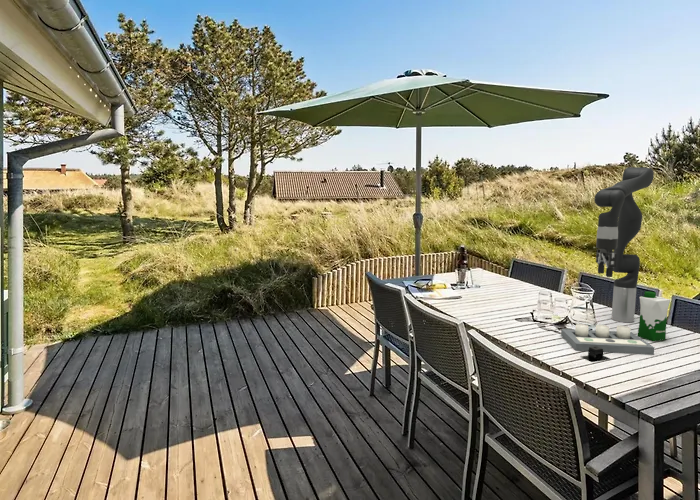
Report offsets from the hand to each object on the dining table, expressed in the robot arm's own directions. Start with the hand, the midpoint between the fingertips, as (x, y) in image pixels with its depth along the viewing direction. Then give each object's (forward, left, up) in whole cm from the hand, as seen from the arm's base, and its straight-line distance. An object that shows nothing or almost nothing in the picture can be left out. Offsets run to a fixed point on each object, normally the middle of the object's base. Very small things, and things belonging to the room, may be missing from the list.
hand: (604, 275), depth 167 cm
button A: (+5, +7, -26) cm, 28 cm away
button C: (+5, -9, -26) cm, 28 cm away
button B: (+5, -1, -26) cm, 27 cm away
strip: (+12, -1, -25) cm, 28 cm away
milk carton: (-4, +22, -29) cm, 36 cm away
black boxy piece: (+23, -11, -29) cm, 39 cm away
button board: (+7, -1, -28) cm, 29 cm away
